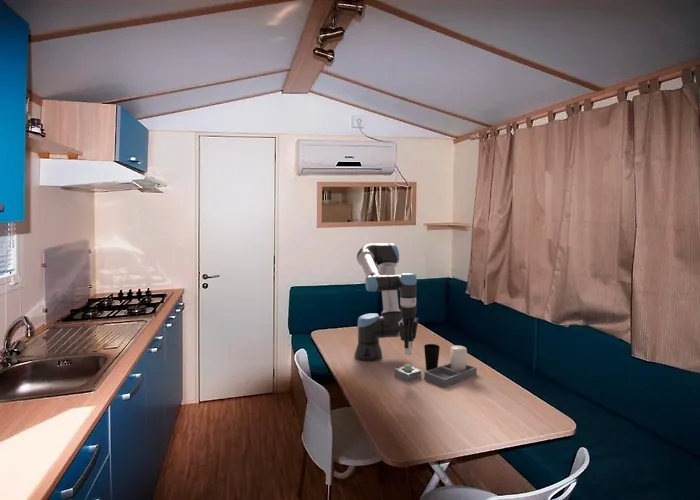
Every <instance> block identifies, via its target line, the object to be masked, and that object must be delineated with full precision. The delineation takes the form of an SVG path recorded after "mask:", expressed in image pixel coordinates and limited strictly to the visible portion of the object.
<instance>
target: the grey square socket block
mask: <svg viewBox="0 0 700 500" xmlns="http://www.w3.org/2000/svg"><path fill="white" fill-rule="evenodd" d="M394 377H396V378H399V379H401V380H403V381H405V382H408V383H409V382H412V381H414V380H415V381H416V380H417V379H420V378H422V369H419V368H417V367H415V366H412V371H410V372H406V371H404V365H403V366H400V367H397V368H394Z"/></svg>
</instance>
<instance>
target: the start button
mask: <svg viewBox="0 0 700 500" xmlns="http://www.w3.org/2000/svg"><path fill="white" fill-rule="evenodd" d="M403 366H404V371H406V372H410V371H412V367H413V366H412V364H410V363H405V364H403Z"/></svg>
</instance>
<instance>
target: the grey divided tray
mask: <svg viewBox="0 0 700 500" xmlns="http://www.w3.org/2000/svg"><path fill="white" fill-rule="evenodd" d="M477 368H478V367H475V366H473V365H470V364H468V363H466V371H464V372H461V373H460V372H457V371H454V370H451V369H450V362H449V363H446V364H444V365H443V364H442V365H440V366H438V367H437V368H434V369H431V370H428V371H427V370H425V371H424V374H423V375H424V378H423V379H424V380H427V381H429V382H431V383H433V384H435V385H438V386H441V387H442V388H447V387H450V386H451V385H454V384H456V383H460V382H462V381H464V380H467V379H469V378H471V377H474V376H477V371H478V369H477Z"/></svg>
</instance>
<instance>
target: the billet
mask: <svg viewBox="0 0 700 500" xmlns="http://www.w3.org/2000/svg"><path fill="white" fill-rule="evenodd" d="M467 355H468V350H467V347H465V346H463V345H452V346H450V362H449V363H450V369H451V370H454V371H457V372H460V373H461V372H464V371H466V364H467V363H468V362H467V359H468V358H467Z"/></svg>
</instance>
